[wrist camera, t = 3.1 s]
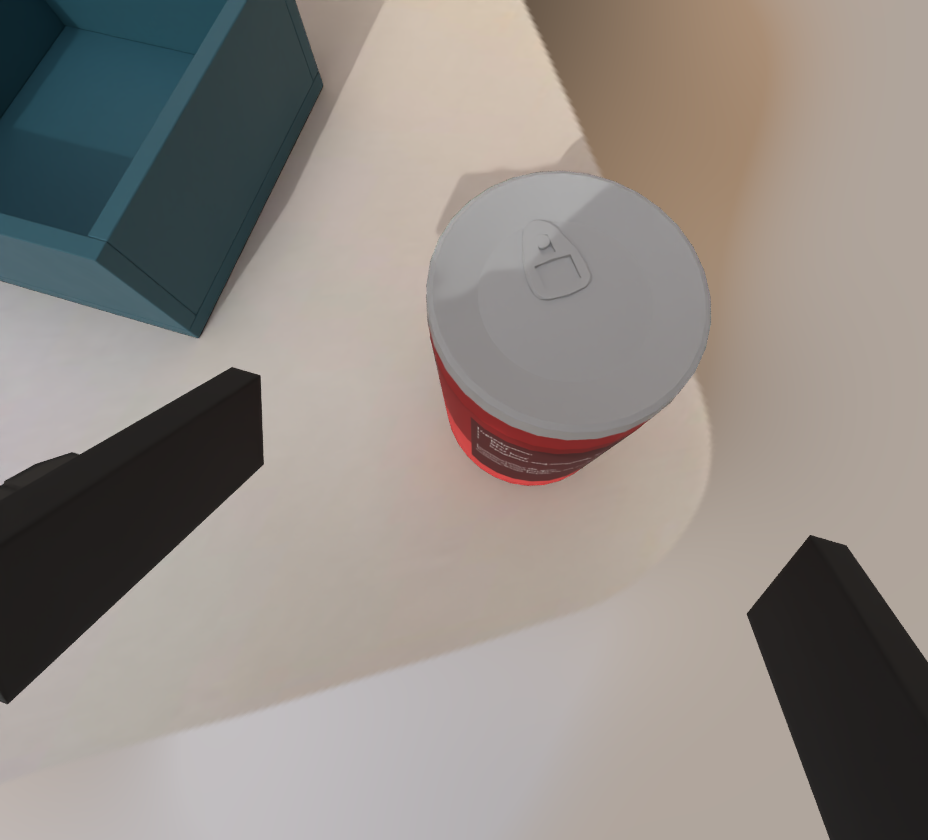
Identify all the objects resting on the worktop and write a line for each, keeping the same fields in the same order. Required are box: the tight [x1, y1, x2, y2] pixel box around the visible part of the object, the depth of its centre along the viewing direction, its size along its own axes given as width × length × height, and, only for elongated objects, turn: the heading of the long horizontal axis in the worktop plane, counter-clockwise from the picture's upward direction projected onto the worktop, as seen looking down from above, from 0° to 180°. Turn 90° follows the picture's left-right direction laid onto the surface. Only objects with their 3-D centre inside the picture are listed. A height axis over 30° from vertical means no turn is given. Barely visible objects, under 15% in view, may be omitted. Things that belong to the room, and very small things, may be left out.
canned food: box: [426, 171, 711, 486], centre depth 18 cm, size 8×8×11 cm
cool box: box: [0, 0, 323, 338], centre depth 24 cm, size 18×18×7 cm
